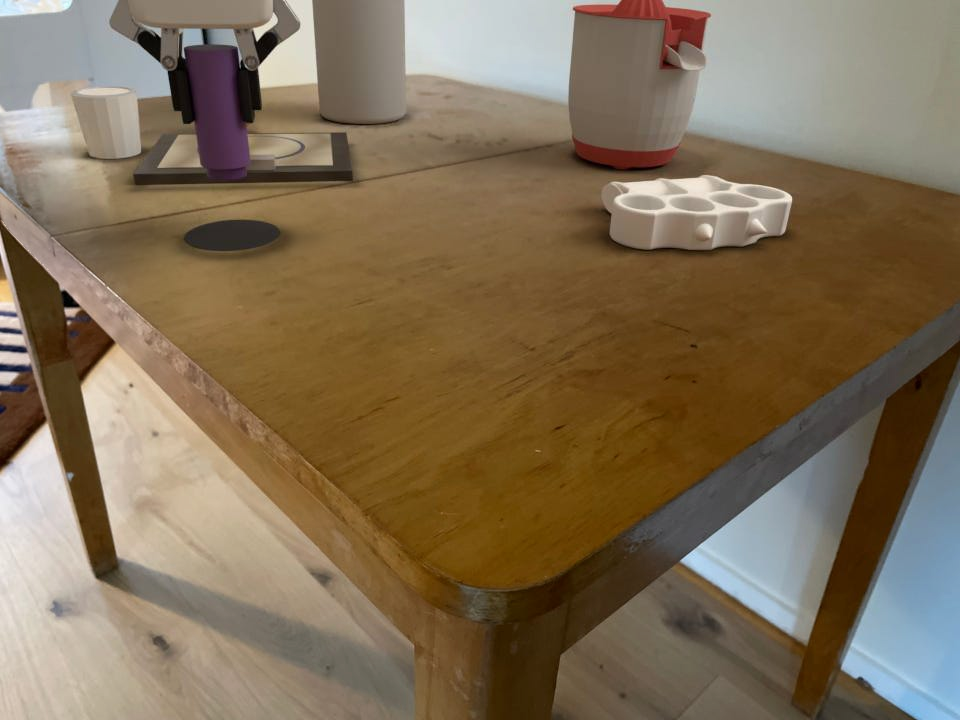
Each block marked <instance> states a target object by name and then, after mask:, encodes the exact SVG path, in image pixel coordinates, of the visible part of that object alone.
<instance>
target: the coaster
mask: <svg viewBox="0 0 960 720" xmlns="http://www.w3.org/2000/svg"><path fill="white" fill-rule="evenodd" d="M280 236H281V230H280V228H279V227H277V226H276V225H274V224H272V223H270V222H267V221H261V220H256V219H226V220H217V221H212V222H208V223H205V224H204V223H203V224H201V225H198V226H195V227H193V228H191V229H190V230H189V231H187V232H186V233H185V235H184V238H183V239H184V242H185V244H187V245H189V246H190V247H193V248H195V249H199V250H203V251H205V250H206V251H211V252H212V251H213V252H236V251H245V250H251V249H256V248H260V247H263V246H266V245H269V244H270V243H273V242H275V241H276V240H278V239H279V237H280Z"/></svg>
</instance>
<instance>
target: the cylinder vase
mask: <svg viewBox="0 0 960 720" xmlns="http://www.w3.org/2000/svg"><path fill="white" fill-rule="evenodd" d="M311 3H312V4H311V5H312V19H313V33H314V48H315V49H314V50H315V65H316V77H317V93H318V109H319V113H320V115H321V116H322V117H323V118H324V119H326V120H328V121H332V122H335V123H341V124H350V125H378V124H379V125H380V124H385V123H391V122H392V123H393V122H396V121H398V120H401V119H402V118H404V117H405V115H406V113H407V85H406V84H407V83H406V82H407V81H406V80H407V79H406V78H407V77H406V76H407V75H406V26H405V25H406V17H405V16H406V12H405V11H406V9H405V7H406V6H405V0H311Z"/></svg>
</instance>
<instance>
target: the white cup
mask: <svg viewBox="0 0 960 720" xmlns="http://www.w3.org/2000/svg"><path fill="white" fill-rule="evenodd" d="M70 96H71V100H72V103H73V106H74V110H75V113H76V116H77V120H78V123H79V126H80V129H81V132H82V136H83V139H84V142H85V146H86V149H87V152H88V155H89V156H90V157H91V158H95V159H103V160H115V159H116V160H118V159H126V158H132V157H135V156H138V155H139V154H141V153H142V142H141V132H140V131H141V129H140V117H139V105H138V104H139V103H138V92H137V90H136V89H134V88H131V87H130V88H129V87H123V86H94V87H85V88H79V89H75V90H73V91H71V92H70Z"/></svg>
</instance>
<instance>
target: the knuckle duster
mask: <svg viewBox="0 0 960 720" xmlns="http://www.w3.org/2000/svg"><path fill="white" fill-rule="evenodd" d="M600 193H601V194H600V195H601V201H602V204H603V206H604V208H605V209H606V211H608V212H609V214H611V215H610V216H611V218H610V224H609V225H610V226H609V236H610V239H611V240H613V242H615V243H617V244H619V245H621V246H625V247H628V248H632V249H637V250H644V251H650V250H654V249H664V248H665V249H667V248H670V249H680V250H688V251H712V250H714V249H716V248H721V247H740V248H741V247H745V246H748V245H749V246H750V245H753V244H756V243H757V241H758V240H760V239H762V238H766V237H767V238H769V237H781V236H783V235H784V234H785V232H786V230H787V225H788V221H789V217H790V212H791V209H792V208H791V207H792V204H793V197H792V195H791V194H790V193H788V192H786V191H784V190H783V189H779V188H777V187H772V186H767V185H760V184H752V183H737V182H733V181H728V180H725V179H723V178H720V177H719V176H715V175H709V174H702V175H700V176H698V177H688V178H687V177H686V178H672V179H669V178H664V177H662V178H661V177H659V178H656V179H655V180H643V181H630V182H629V181H628V182H621V181H611V182H610V183H607V184H604V185H603V187H602V188H601V192H600Z"/></svg>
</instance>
